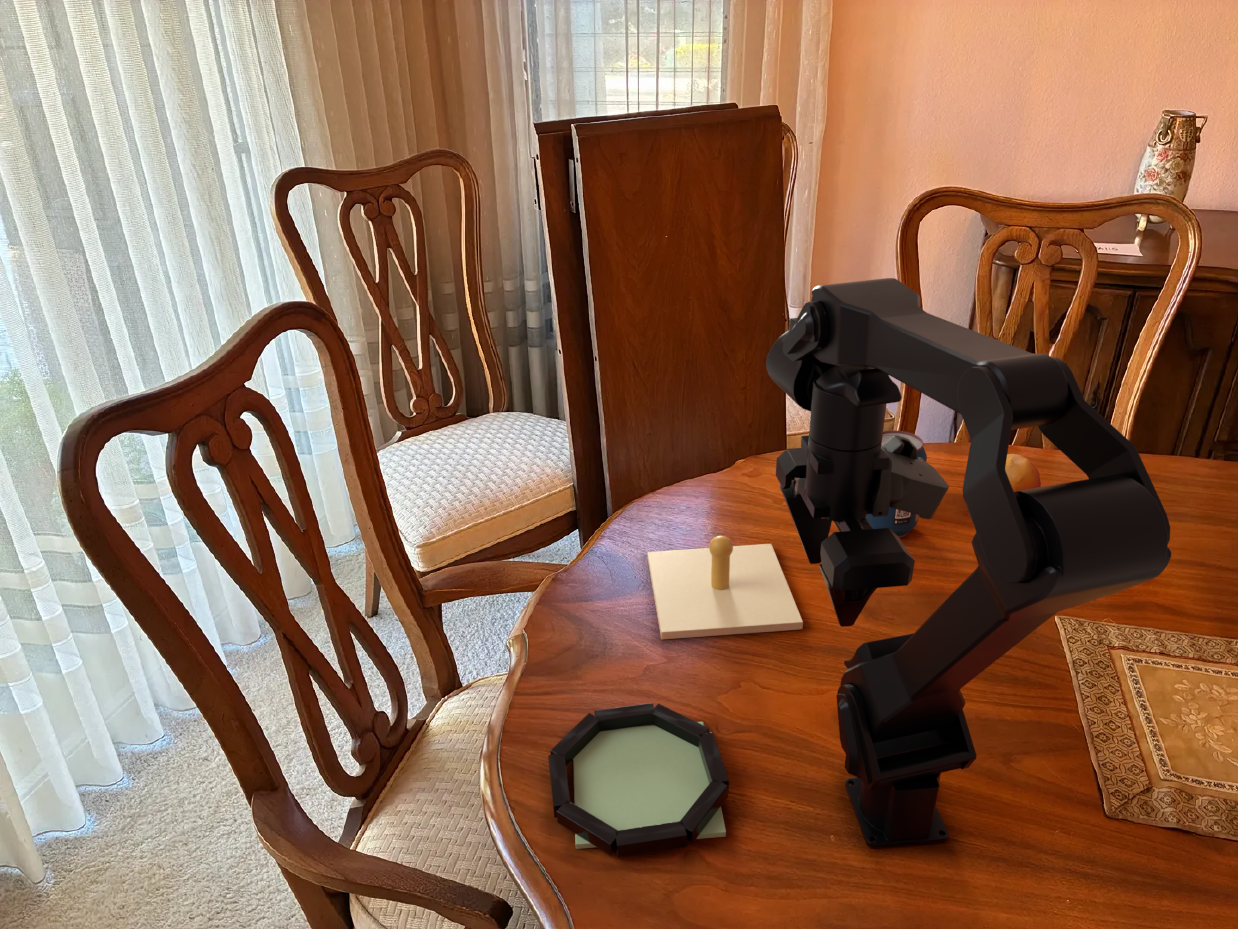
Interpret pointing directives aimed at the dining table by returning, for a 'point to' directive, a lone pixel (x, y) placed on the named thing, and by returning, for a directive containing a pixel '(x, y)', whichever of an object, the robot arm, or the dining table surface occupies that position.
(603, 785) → the mat
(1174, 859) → the dining table surface
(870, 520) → the soda can
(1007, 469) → the fruit
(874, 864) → the dining table surface
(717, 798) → the ring
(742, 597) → the stand
